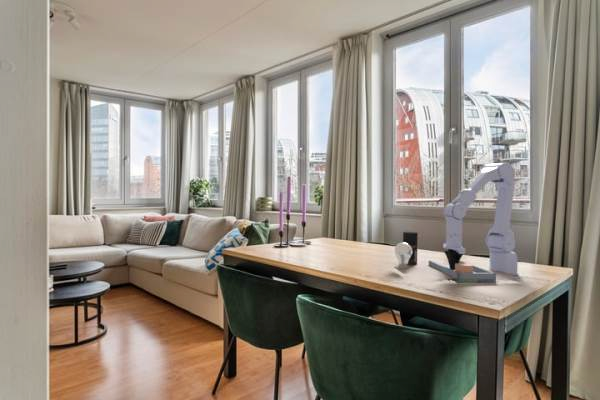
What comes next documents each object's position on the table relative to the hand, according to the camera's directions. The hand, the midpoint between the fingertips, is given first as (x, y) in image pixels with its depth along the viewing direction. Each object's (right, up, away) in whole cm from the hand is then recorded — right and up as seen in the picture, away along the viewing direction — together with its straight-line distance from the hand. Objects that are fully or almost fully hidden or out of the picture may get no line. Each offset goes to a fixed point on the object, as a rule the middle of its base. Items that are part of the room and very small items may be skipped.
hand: (453, 269), depth 146 cm
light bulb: (-17, -2, +7) cm, 19 cm away
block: (0, -1, -8) cm, 9 cm away
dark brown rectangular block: (-12, -2, +16) cm, 21 cm away
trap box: (+3, -2, +1) cm, 4 cm away
